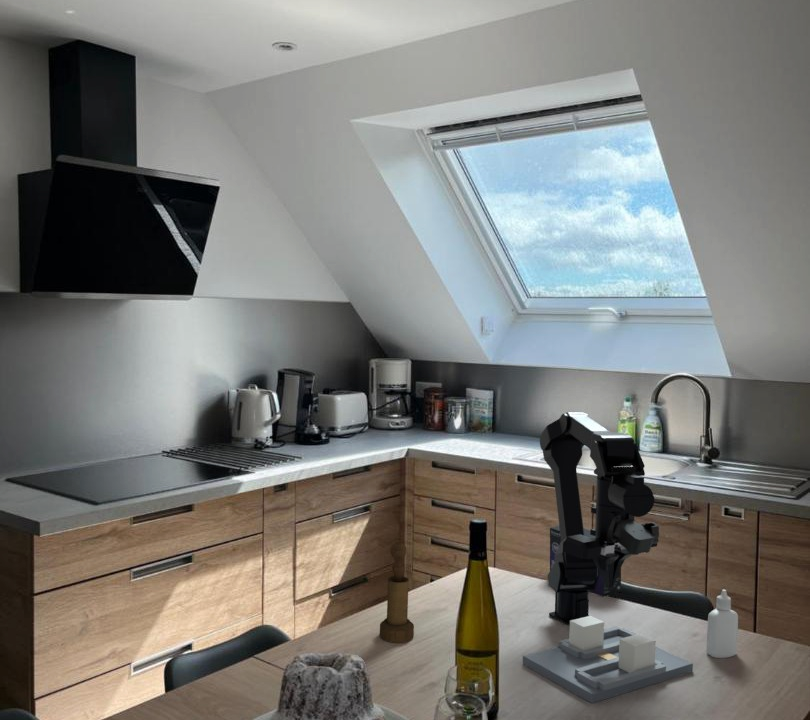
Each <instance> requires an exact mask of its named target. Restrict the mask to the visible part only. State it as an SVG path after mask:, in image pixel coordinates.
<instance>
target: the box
mask: <svg viewBox="0 0 810 720" xmlns="http://www.w3.org/2000/svg"><path fill="white" fill-rule="evenodd" d="M583 529H584V536H587V537H590V538H593V539H595V536H593V535H590V529H586V528H584V527H583ZM560 543H561V536H560V527H559V525H556V526H553V527H549V571H550V570H551V569H552V567H553V565H554V564H555V553H556V551H557V549H558V547H559V545H560ZM589 592H590V593H593V594H595V595H598V596H600V597H606V596H610V595H612V594H616V593H617V594H618V593H621V592H622V568H621V569H620V571H619V574H618V576H617V579H616V581H615V584H614V586H613V588H611V589H609V588H606V587H605V584H604V582H603V580H602V577H601V575H600V573H599V578H598V582H597V587H596V591H589Z"/></svg>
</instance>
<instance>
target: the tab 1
mask: <svg viewBox="0 0 810 720" xmlns="http://www.w3.org/2000/svg"><path fill="white" fill-rule="evenodd" d="M604 629H605V621H603V620H601V619H598V618H596V617H594V616H591V615H589V616H587V617H583V618H579V619H575V620H570V625H569V634H568V635H569V636H568V638H569V644H570V645H572V646H574V647H576V648H578V649H580V650H582V651H584V650H588V649H592V648H596V647H599V646H603V639H604Z"/></svg>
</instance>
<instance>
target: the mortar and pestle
mask: <svg viewBox="0 0 810 720" xmlns="http://www.w3.org/2000/svg"><path fill="white" fill-rule="evenodd" d="M390 554H391V556H392V558H393V560H394V562H393V563H394V564H393V566H392V573H393V575H391V576H388V578H387V602H386V604H387V605H386V607H387V608H386V618H384V620H382V621H381V622H380V625H379V637H380V638H381V640H383V641H385V642H389V643H395V644H397V643H398V644H400V643H408V642H410V641H412V640H413V639H414V636H415V635H414V634H415V632H414V631H415V630H414V629H415V626H414V623H413V621H412V622H411V620H410V619H409V618H408V610H409V609H408V608H409V584H410V583H409V581H410V579H409V578H408V577H406V576H403V575H404V571H405V566H404V565H403V560H404V558H405V556H406V554H407V547H406V545H405V544H404V543H403V542H400V541H399V542H397V541H396V542H394V543H393V544H392V545H391V547H390Z"/></svg>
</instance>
